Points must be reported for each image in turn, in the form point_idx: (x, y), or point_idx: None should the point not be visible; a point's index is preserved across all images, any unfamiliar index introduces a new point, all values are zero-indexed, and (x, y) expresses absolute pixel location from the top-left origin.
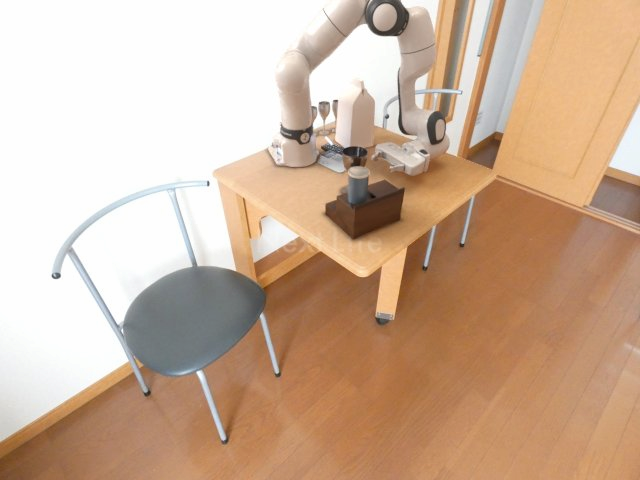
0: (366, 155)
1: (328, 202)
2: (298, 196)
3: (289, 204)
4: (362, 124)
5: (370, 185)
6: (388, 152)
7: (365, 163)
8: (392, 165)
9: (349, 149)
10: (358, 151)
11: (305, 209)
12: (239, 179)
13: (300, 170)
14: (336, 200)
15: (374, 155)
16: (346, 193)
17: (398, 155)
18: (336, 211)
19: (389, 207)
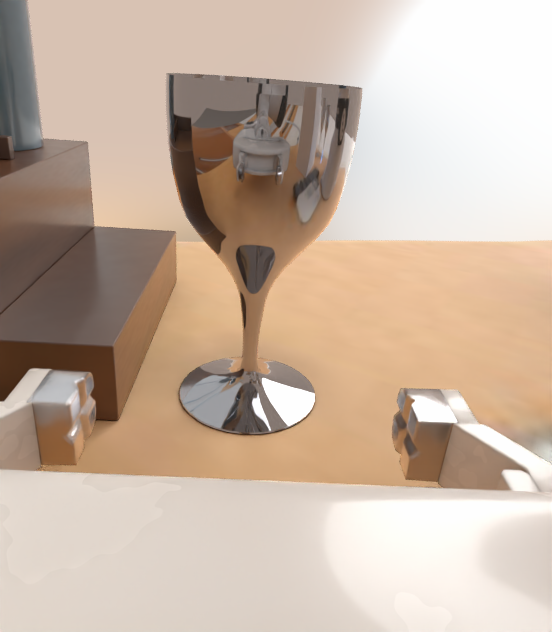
0: (171, 85)
1: (172, 235)
2: (344, 281)
3: (308, 260)
4: None
5: (2, 172)
6: (400, 493)
7: (178, 165)
8: (68, 389)
9: (359, 114)
10: (323, 137)
11: None
12: (527, 249)
13: None
14: (161, 247)
15: (438, 395)
16: (66, 147)
17: (164, 550)
18: (91, 217)
19: None
